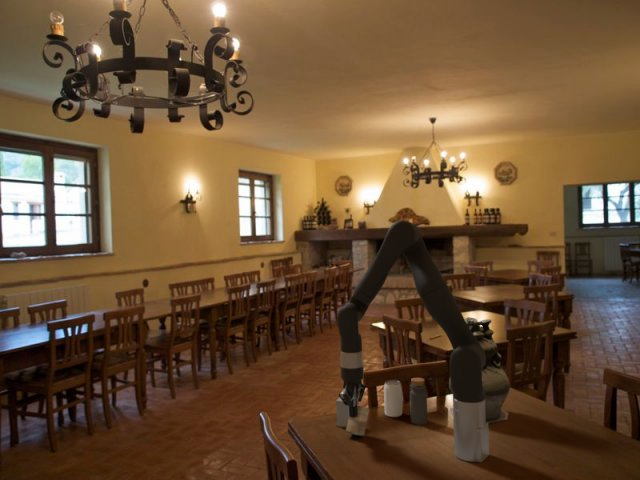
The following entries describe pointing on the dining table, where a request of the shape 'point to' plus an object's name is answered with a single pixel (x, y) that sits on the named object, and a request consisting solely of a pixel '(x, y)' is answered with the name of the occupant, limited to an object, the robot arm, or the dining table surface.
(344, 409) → the grey block
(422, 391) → the bottle
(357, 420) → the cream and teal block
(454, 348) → the robot arm
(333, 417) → the dining table surface
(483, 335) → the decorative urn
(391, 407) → the can
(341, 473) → the dining table surface
